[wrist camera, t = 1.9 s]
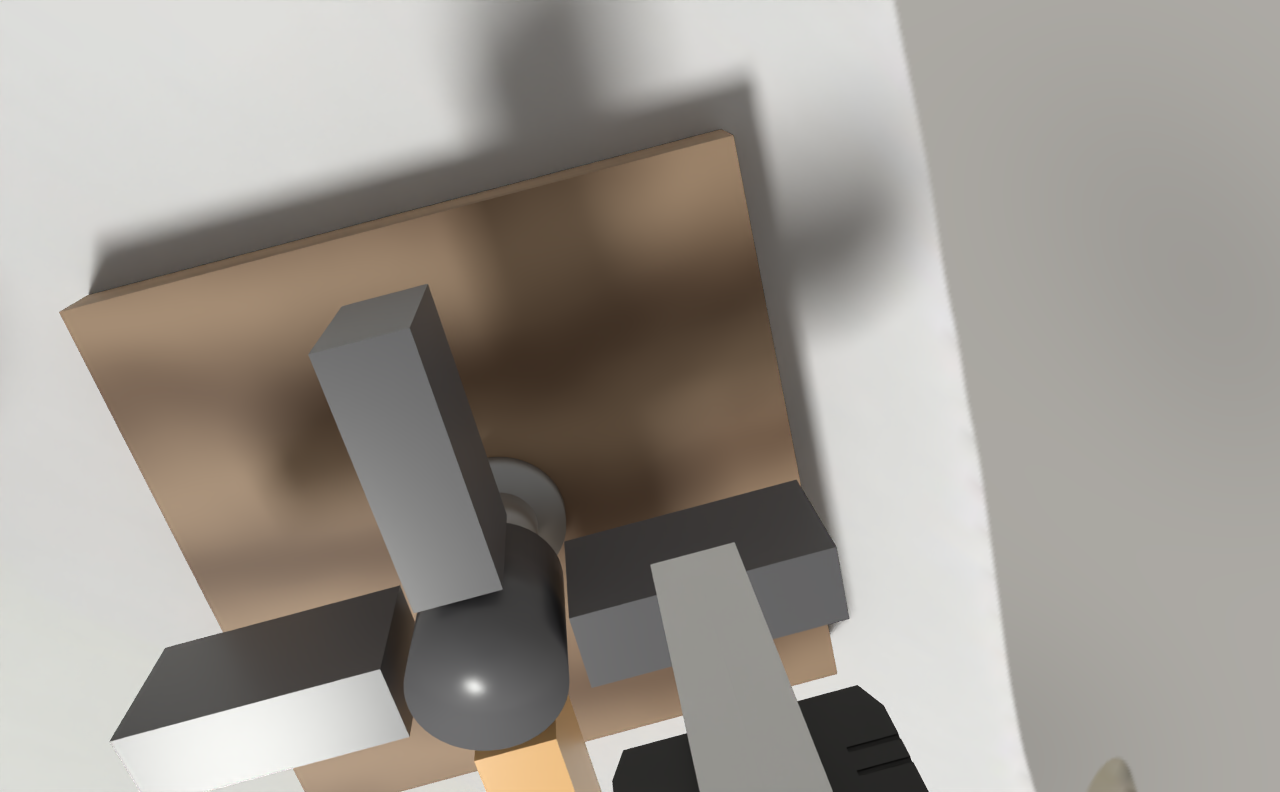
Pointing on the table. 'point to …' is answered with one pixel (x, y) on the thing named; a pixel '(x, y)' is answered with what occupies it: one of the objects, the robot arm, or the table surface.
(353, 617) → the grey bar cross
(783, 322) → the table surface
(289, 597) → the stud base
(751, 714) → the robot arm
